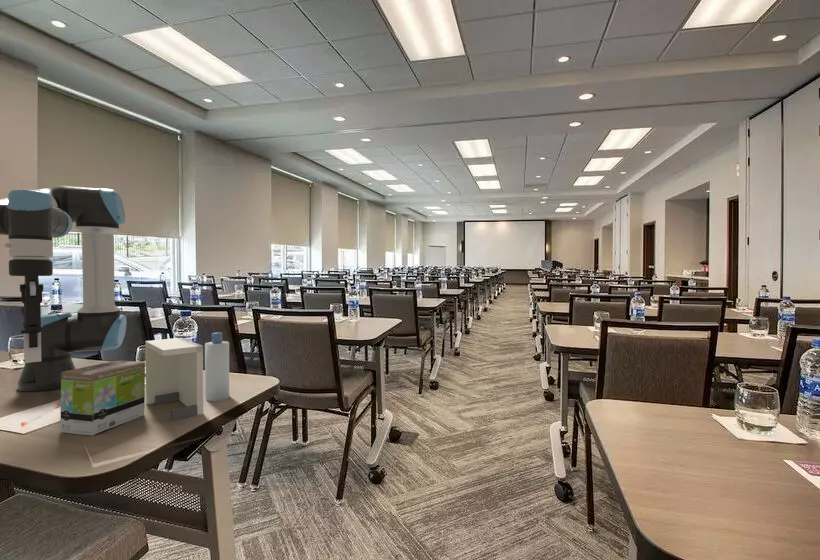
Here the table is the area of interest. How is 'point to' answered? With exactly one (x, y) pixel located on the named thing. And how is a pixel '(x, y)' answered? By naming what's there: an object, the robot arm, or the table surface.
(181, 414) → the rails
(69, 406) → the tea box
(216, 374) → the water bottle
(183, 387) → the shelf
